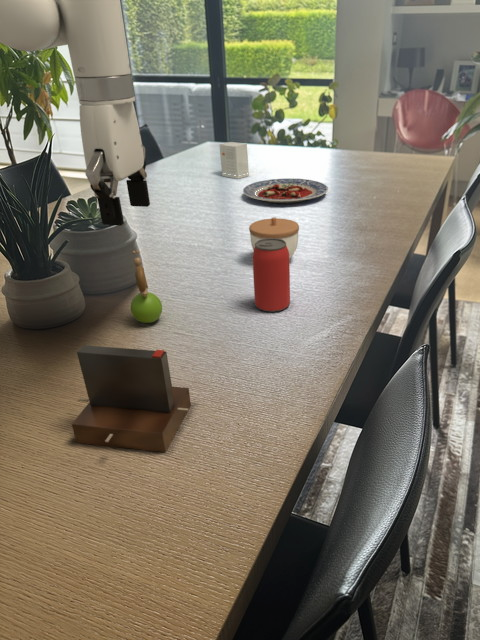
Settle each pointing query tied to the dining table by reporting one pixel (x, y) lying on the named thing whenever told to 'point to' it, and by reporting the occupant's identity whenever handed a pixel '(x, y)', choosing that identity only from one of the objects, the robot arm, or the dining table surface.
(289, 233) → the trinket box
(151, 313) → the green ball on stick
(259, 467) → the dining table surface
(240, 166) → the small box
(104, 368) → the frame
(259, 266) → the beer can
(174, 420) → the frame stand
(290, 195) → the ceramic plate
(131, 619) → the dining table surface
